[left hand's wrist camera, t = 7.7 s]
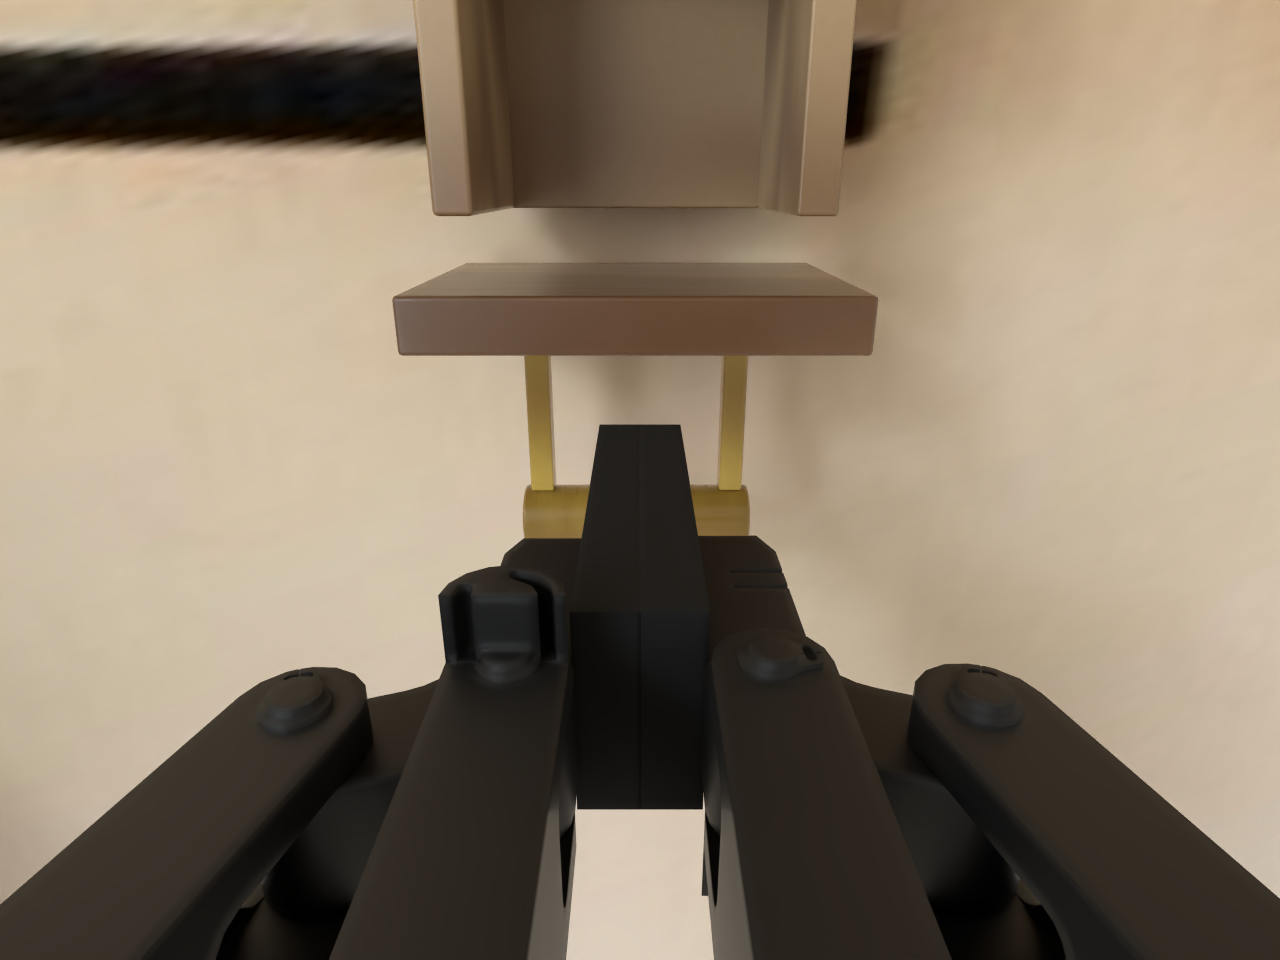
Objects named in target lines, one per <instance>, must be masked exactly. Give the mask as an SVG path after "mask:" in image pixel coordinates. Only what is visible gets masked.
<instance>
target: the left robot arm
mask: <svg viewBox="0 0 1280 960" xmlns="http://www.w3.org/2000/svg"><path fill="white" fill-rule="evenodd" d="M438 596H439V605H440V614H441V623H442V632H443V641H444V650H445V659H446V663H445V666H444V668H443V671H442V674H441V676H440V679H438V680H436V681H434V682H431V683H429V684H427V685H425V686H421V687H418V688H414V689H411V690H407V691H403V692H398V693H393V694H389V695H384V696H379V697H374V698H369V699H367V693H366V687H365V684H364V683H363V682H362V681H361V680H360V679H359V678H358V677H357V676H356V675H355V674H354V673H351V672H348V671H345V670H342V669H339V668H326V667H311V668H304V669H300V670H298V669H297V670H293V671H289V672H285V673H283V674H281V675H278V676H276V677H273V678H271V679H268V680H266V681H263V682H261V683H259V684H258V685H256V686H255V687H253V688H252V689H250V690H249V691H247V692H246V693H244V694H243V695H241V696H240V697H238V698H237V699H236V700H235V701H234V702H233V703H232V704H230V705H229V706H228V707H227V708H226V709H225V710H224V711H222V712H221V713H220V714H219V715H218V716H217V717H216V718H214V719H213V720H212V721H211V722H210V723H209V724H207V725H206V726H205V727H204V728H203V729H202V730H201V731H199V732H198V733H197V734H196V735H195V736H194V737H193V738H191V739H190V740H189V741H188V742H187V743H186V744H184V745H183V746H182V747H181V748H180V749H179V750H178V751H176V752H175V753H174V754H173V755H172V756H171V757H170V758H168V759H167V760H166V761H165V762H164V763H163V764H161V765H160V766H159V767H158V768H157V769H156V770H155V771H153V772H152V773H151V774H150V775H149V776H148V777H147V778H145V779H144V780H143V781H142V782H141V783H140V784H138V785H137V786H136V787H135V788H134V789H133V790H132V791H130V792H129V793H128V794H127V795H126V796H125V797H124V798H122V799H121V800H120V801H119V802H118V803H117V804H116V805H114V806H113V807H112V808H111V809H110V810H109V811H107V812H106V813H105V814H104V815H103V816H102V817H101V818H99V819H98V820H97V821H96V822H95V823H94V824H93V825H91V826H90V827H89V828H88V829H87V830H86V831H84V832H83V833H82V834H81V835H80V836H79V837H78V838H76V839H75V840H74V841H73V842H72V843H71V844H70V845H68V846H67V847H66V848H65V849H64V850H63V851H61V852H60V853H59V854H58V855H57V856H56V857H55V858H53V859H52V860H51V861H50V862H49V863H48V864H47V865H45V866H44V867H43V868H42V869H41V870H40V871H38V872H37V873H36V874H35V875H34V876H33V877H32V878H30V879H29V880H28V881H27V882H26V883H25V884H24V885H22V886H21V887H20V888H19V889H18V890H17V891H16V892H14V893H13V894H12V895H11V896H10V897H9V898H7V899H6V900H5V901H4V902H3V903H2V904H1V905H0V960H566V953H567V942H568V931H569V920H570V909H571V898H572V887H573V876H574V865H575V854H576V829H575V806H576V796H577V809H703V792H704V802H705V829H704V853H703V878H702V896H708V897H709V908H710V919H711V930H712V941H713V951H714V960H1280V898H1278V897H1277V896H1276V895H1275V894H1274V893H1273V892H1271V891H1270V890H1269V889H1268V888H1267V887H1266V886H1264V885H1263V884H1262V883H1261V882H1260V881H1259V880H1257V879H1256V878H1255V877H1254V876H1253V875H1252V874H1251V873H1249V872H1248V871H1247V870H1246V869H1245V868H1244V867H1242V866H1241V865H1240V864H1239V863H1238V862H1237V861H1235V860H1234V859H1233V858H1232V857H1231V856H1230V855H1229V854H1227V853H1226V852H1225V851H1224V850H1223V849H1222V848H1220V847H1219V846H1218V845H1217V844H1216V843H1215V842H1213V841H1212V840H1211V839H1210V838H1209V837H1208V836H1206V835H1205V834H1204V833H1203V832H1202V831H1201V830H1200V829H1198V828H1197V827H1196V826H1195V825H1194V824H1193V823H1191V822H1190V821H1189V820H1188V819H1187V818H1186V817H1184V816H1183V815H1182V814H1181V813H1180V812H1179V811H1178V810H1176V809H1175V808H1174V807H1173V806H1172V805H1171V804H1169V803H1168V802H1167V801H1166V800H1165V799H1164V798H1162V797H1161V796H1160V795H1159V794H1158V793H1157V792H1155V791H1154V790H1153V789H1152V788H1151V787H1150V786H1149V785H1147V784H1146V783H1145V782H1144V781H1143V780H1142V779H1140V778H1139V777H1138V776H1137V775H1136V774H1135V773H1133V772H1132V771H1131V770H1130V769H1129V768H1128V767H1127V766H1125V765H1124V764H1123V763H1122V762H1121V761H1120V760H1118V759H1117V758H1116V757H1115V756H1114V755H1113V754H1111V753H1110V752H1109V751H1108V750H1107V749H1106V748H1104V747H1103V746H1102V745H1101V744H1100V743H1099V742H1098V741H1096V740H1095V739H1094V738H1093V737H1092V736H1091V735H1089V734H1088V733H1087V732H1086V731H1085V730H1084V729H1082V728H1081V727H1080V726H1079V725H1078V724H1077V723H1076V722H1074V721H1073V720H1072V719H1071V718H1070V717H1069V716H1067V715H1066V714H1065V713H1064V712H1063V711H1062V710H1060V709H1059V708H1058V707H1057V706H1056V705H1055V704H1053V703H1052V702H1051V701H1050V700H1049V699H1048V698H1047V697H1045V696H1044V695H1043V694H1042V693H1041V692H1039V691H1038V690H1036V689H1035V688H1033V687H1031V686H1030V685H1028V684H1027V683H1025V682H1024V681H1022V680H1021V679H1019V678H1017V677H1014V676H1012V675H1009V674H1006V673H1004V672H1001V671H999V670H997V669H994V668H990V667H986V666H979V665H972V664H944V665H941V666H938V667H935V668H932V669H929V670H926V671H925V672H924V673H923V674H922V675H921V676H920V677H919V678H918V679H917V680H916V681H915V687H914V693H913V695H908V694H903V693H898V692H893V691H888V690H883V689H878V688H874V687H870V686H867V685H863V684H860V683H856V682H854V681H852V680H849V679H847V678H845V677H842V676H840V675H839V672H838V670H837V667H836V665H835V662H834V661H833V659H832V658H831V656H830V655H829V654H828V652H827V651H826V650H825V648H824V647H822V646H820V645H819V644H817V643H816V642H814V641H813V640H811V639H810V638H808V637H806V635H805V632H804V630H803V627H802V624H801V621H800V618H799V616H798V613H797V610H796V607H795V605H794V602H793V599H792V596H791V593H790V591H789V589H787V582H786V580H785V577H784V574H783V573H782V568H781V566H780V563H779V560H778V557H777V555H776V552H775V551H774V550H773V549H772V548H771V547H769V546H768V545H767V544H766V543H764V542H763V541H762V540H761V539H759V538H758V537H757V536H698V532H697V526H696V519H695V513H694V507H693V501H692V495H691V488H690V482H689V476H688V470H687V464H686V457H685V451H684V445H683V439H682V433H681V426H680V425H600V426H599V433H598V439H597V445H596V451H595V457H594V464H593V470H592V476H591V482H590V488H589V495H588V501H587V507H586V513H585V519H584V526H583V532H582V538H524V539H523V540H521V541H520V542H519V543H518V544H516V545H515V546H514V547H513V548H512V549H510V550H509V551H508V552H507V553H505V555H504V558H503V560H502V563H501V566H497V567H488V568H484V569H481V570H477V571H474V572H470V573H467V574H465V575H463V576H461V577H459V578H458V579H456V580H454V581H452V582H450V583H449V584H448V585H447V586H446V587H445V588H444V590H443V591H442V592H441V593H440V594H439V595H438Z"/></svg>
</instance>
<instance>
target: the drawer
mask: <svg viewBox="0 0 1280 960" xmlns="http://www.w3.org/2000/svg"><path fill="white" fill-rule="evenodd" d="M413 4H414V15H415V25H416V36H417V47H418V58H419V69H420V80H421V90H422V101H423V112H424V123H425V134H426V144H427V155H428V166H429V177H430V188H431V199H432V209H433V213H434V215H437V216H472V215H477V214H482V213H488V212H493V211H498V210H503V209H509V208H762V209H767V210H772V211H777V212H782V213H787V214H792V215H797V216H836V215H837V214H838V207H839V196H840V184H841V173H842V162H843V150H844V139H845V128H846V117H847V105H848V94H849V83H850V71H851V60H852V49H853V38H854V26H855V15H856V4H857V0H413ZM392 301H393V310H394V319H395V327H396V336H397V345H398V352H399V354H400V355H403V356H524V360H525V378H526V396H527V414H528V432H529V450H530V469H531V485H528V486H527V487H526V490H525V494H524V503H523V530H524V537H525V538H582V532H583V526H584V519H585V513H586V507H587V501H588V495H589V488H590V485H555V484H556V471H555V447H554V424H553V400H552V377H551V356H722V368H721V394H720V419H719V445H718V470H717V483H718V485H690V488H691V495H692V501H693V507H694V513H695V519H696V526H697V532H698V536H749V527H750V506H749V495H748V491H747V488H746V486H745V485H741V481H742V461H743V442H744V423H745V403H746V384H747V365H748V356H868V355H871V354H872V351H873V343H874V334H875V325H876V316H877V307H878V298H877V297H876V296H874V295H872V294H870V293H868V292H866V291H863V290H861V289H859V288H857V287H855V286H853V285H851V284H849V283H847V282H845V281H842V280H840V279H838V278H836V277H834V276H832V275H830V274H828V273H826V272H824V271H821V270H819V269H817V268H815V267H813V266H811V265H809V264H807V263H466V264H464V265H462V266H460V267H458V268H455V269H453V270H451V271H449V272H447V273H444V274H442V275H440V276H438V277H436V278H434V279H431V280H429V281H427V282H425V283H423V284H421V285H418V286H416V287H414V288H412V289H410V290H408V291H405V292H403V293H401V294H399V295H397V296H395V297H393V300H392Z"/></svg>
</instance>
